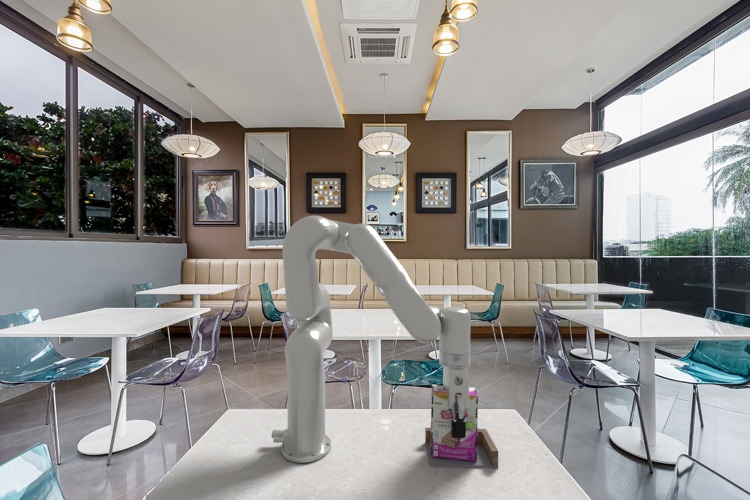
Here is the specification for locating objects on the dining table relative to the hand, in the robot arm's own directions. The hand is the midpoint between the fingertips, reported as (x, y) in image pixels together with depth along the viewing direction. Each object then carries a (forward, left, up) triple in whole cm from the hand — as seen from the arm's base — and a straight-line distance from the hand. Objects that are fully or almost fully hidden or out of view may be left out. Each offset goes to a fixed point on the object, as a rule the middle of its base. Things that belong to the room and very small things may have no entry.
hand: (454, 426), depth 85 cm
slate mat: (+2, +1, -7) cm, 8 cm away
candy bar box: (0, 0, -7) cm, 7 cm away
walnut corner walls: (+2, +1, -7) cm, 8 cm away
